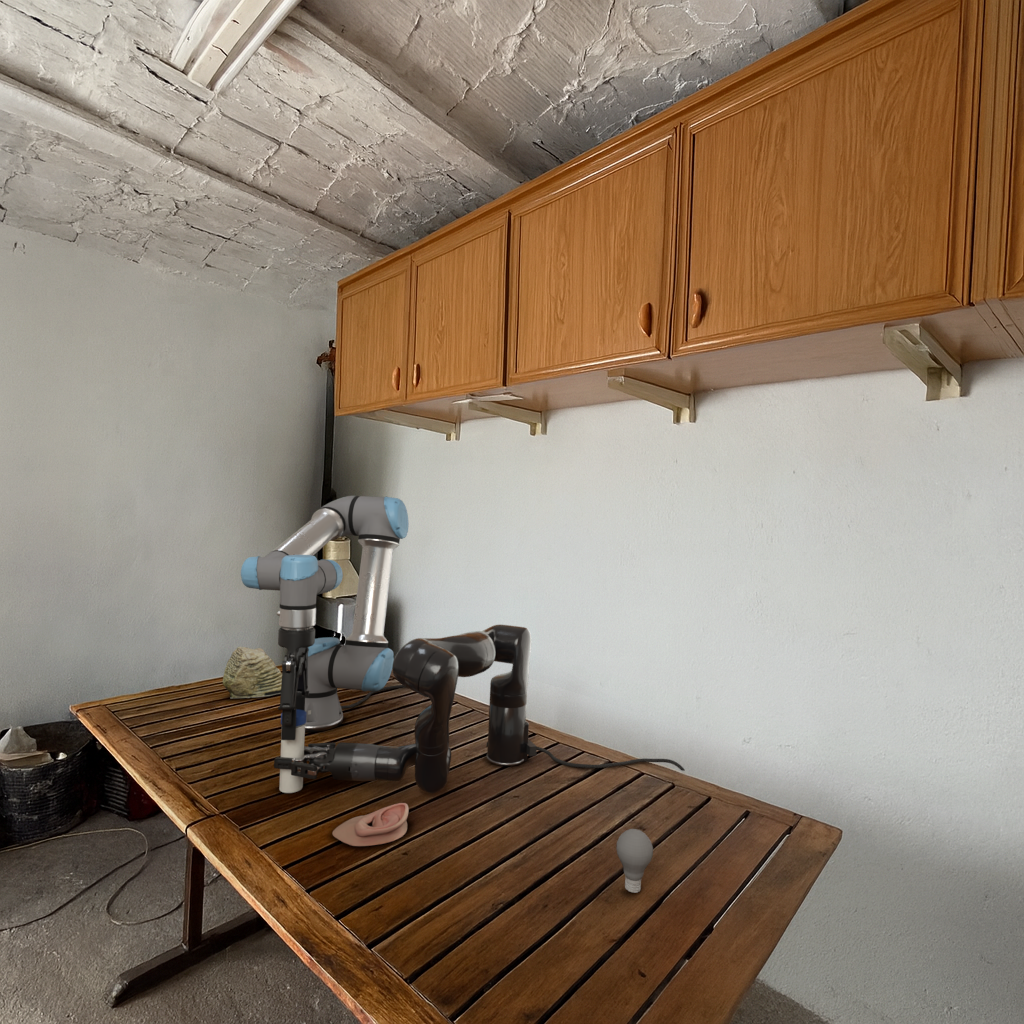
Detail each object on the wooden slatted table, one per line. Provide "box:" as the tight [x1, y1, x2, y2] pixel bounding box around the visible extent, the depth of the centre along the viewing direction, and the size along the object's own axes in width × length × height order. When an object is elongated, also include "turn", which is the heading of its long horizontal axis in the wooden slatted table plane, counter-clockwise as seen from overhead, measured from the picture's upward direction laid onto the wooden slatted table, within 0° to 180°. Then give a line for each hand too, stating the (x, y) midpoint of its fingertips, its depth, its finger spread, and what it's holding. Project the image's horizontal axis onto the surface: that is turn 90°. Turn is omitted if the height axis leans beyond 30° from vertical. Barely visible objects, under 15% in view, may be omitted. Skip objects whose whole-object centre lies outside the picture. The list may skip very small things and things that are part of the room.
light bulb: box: [615, 828, 654, 894], centre depth 106 cm, size 6×6×10 cm
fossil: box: [222, 646, 282, 699], centre depth 198 cm, size 9×18×15 cm, turn 132°
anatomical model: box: [332, 802, 410, 847], centre depth 121 cm, size 13×4×12 cm
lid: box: [280, 710, 307, 726], centre depth 137 cm, size 5×5×2 cm
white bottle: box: [278, 724, 306, 794], centre depth 137 cm, size 5×5×16 cm
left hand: (293, 732), depth 137 cm, fingers open, 7 cm apart
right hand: (280, 757), depth 137 cm, fingers closed on white bottle, 4 cm apart
